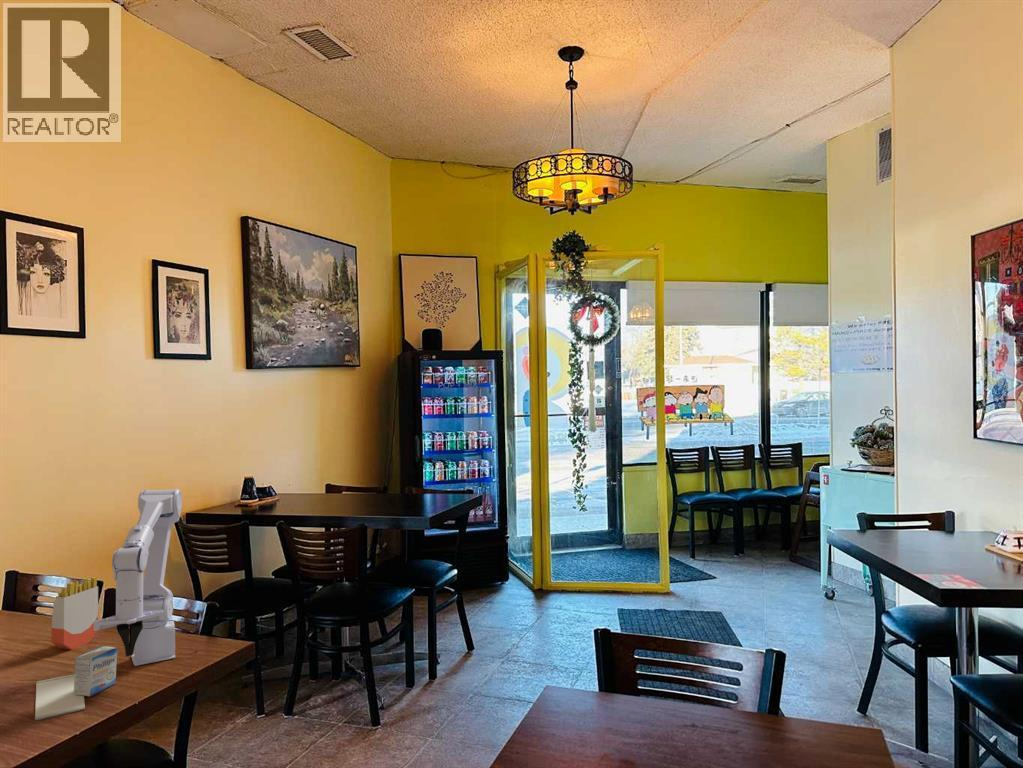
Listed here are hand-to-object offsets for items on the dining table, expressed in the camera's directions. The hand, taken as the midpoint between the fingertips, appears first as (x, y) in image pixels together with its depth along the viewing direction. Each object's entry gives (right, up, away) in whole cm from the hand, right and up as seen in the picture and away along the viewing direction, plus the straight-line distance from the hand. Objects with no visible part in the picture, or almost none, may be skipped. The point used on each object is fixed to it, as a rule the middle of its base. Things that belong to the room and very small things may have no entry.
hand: (129, 654), depth 162 cm
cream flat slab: (-12, -7, -7) cm, 15 cm away
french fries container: (-29, -7, +24) cm, 38 cm away
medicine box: (-6, -7, -4) cm, 10 cm away
